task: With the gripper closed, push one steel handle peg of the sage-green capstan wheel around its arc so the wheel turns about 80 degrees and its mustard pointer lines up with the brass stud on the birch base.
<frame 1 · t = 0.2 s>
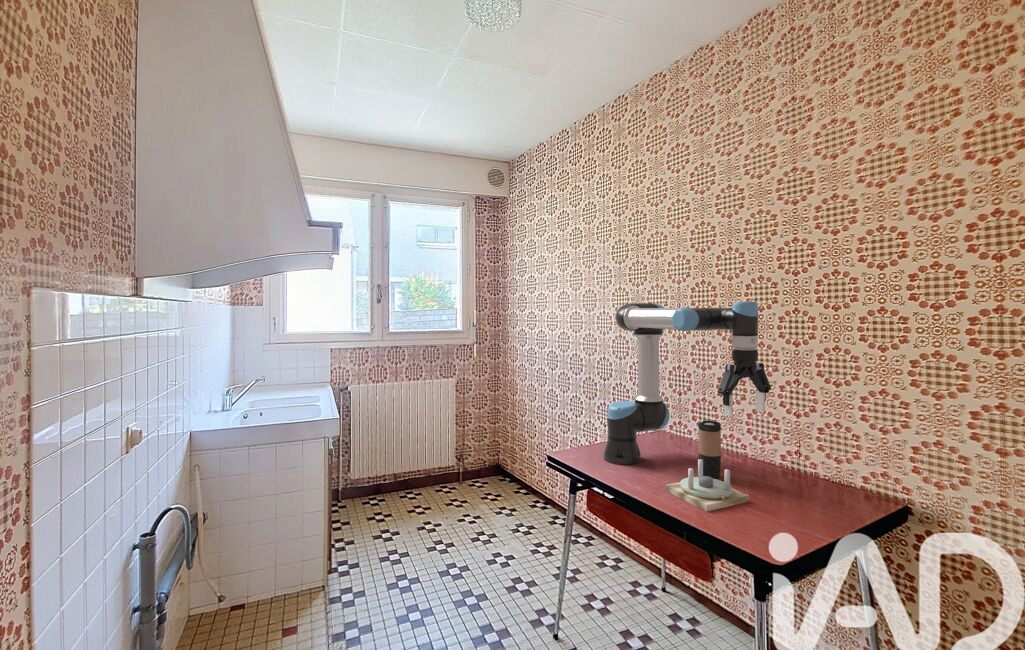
hand: (744, 413, 150), 28 cm above the table, fingers open, 13 cm apart
capstan: (706, 477, 151), point 6 cm above the table, hinge at 0.0°
stand base: (705, 495, 152), on the table
travel mug: (709, 477, 169), on the table
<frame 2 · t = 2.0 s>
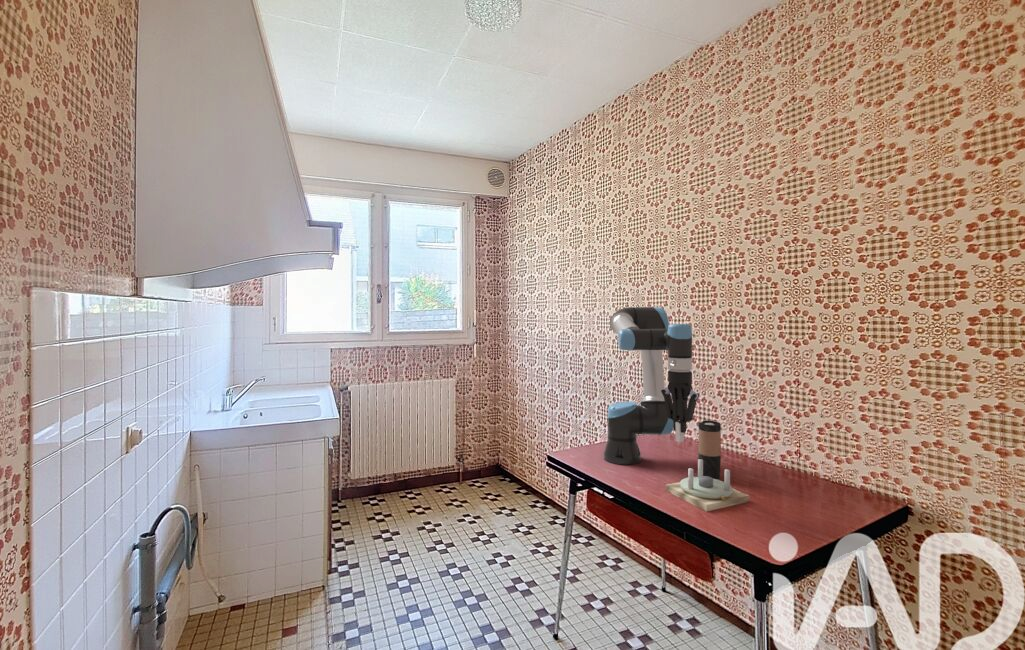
hand: (679, 441, 152), 18 cm above the table, fingers closed
nothing on the table moved.
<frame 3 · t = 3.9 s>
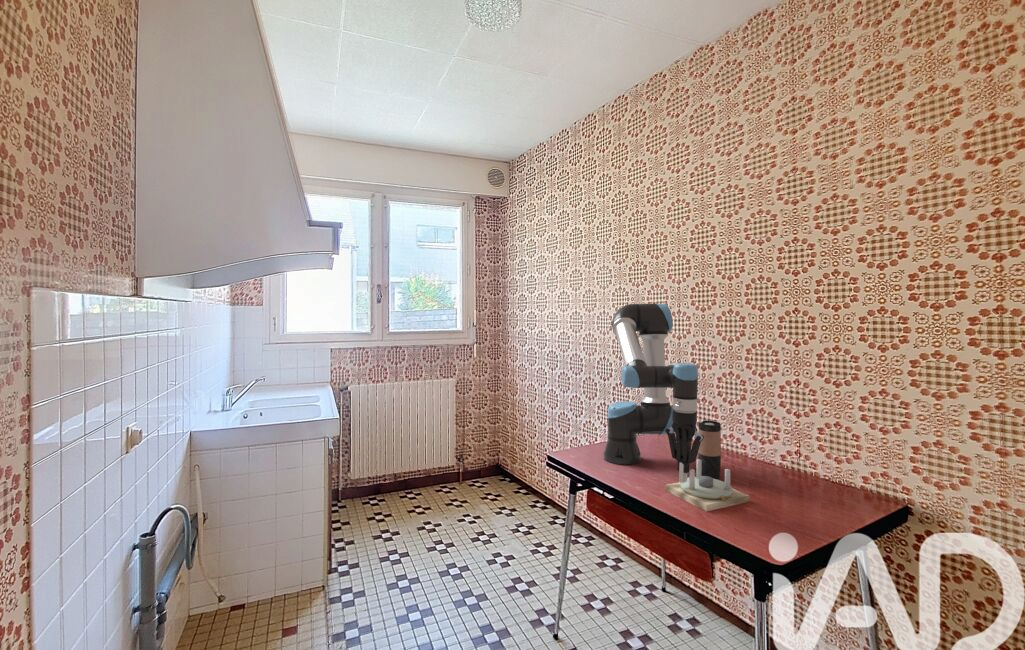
hand: (683, 481, 151), 5 cm above the table, fingers closed
capstan: (706, 477, 151), point 6 cm above the table, hinge at 4.5°, touching gripper
everything else where it was.
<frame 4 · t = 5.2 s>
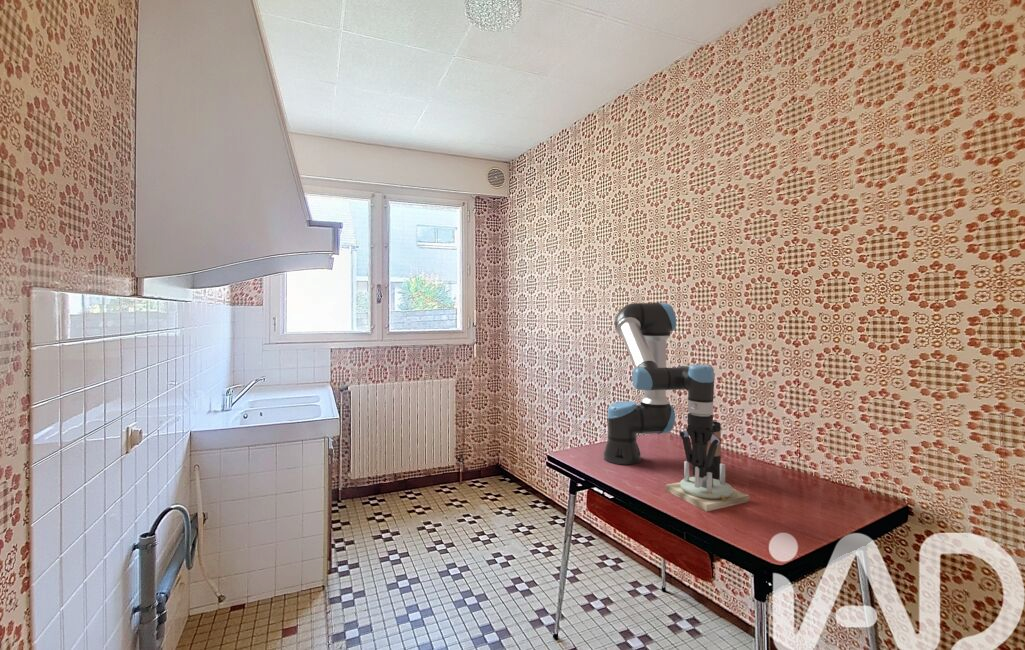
hand: (698, 486, 147), 5 cm above the table, fingers closed
capstan: (706, 477, 151), point 6 cm above the table, hinge at 52.8°, touching gripper
everything else where it was.
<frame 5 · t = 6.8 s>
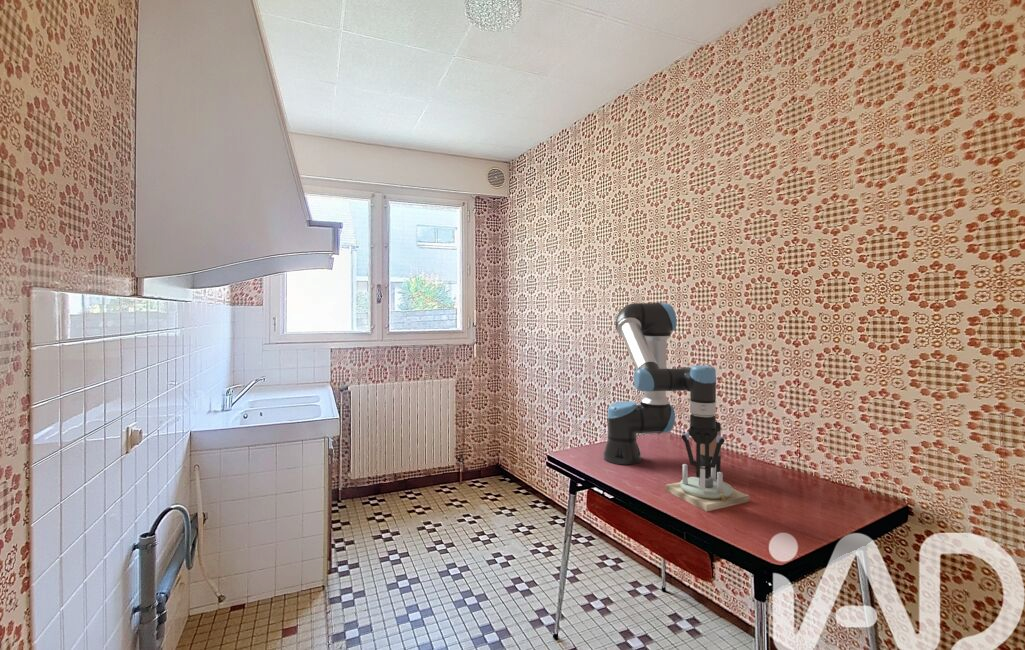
hand: (702, 487, 146), 5 cm above the table, fingers closed
capstan: (706, 477, 151), point 6 cm above the table, hinge at 83.1°
everything else where it was.
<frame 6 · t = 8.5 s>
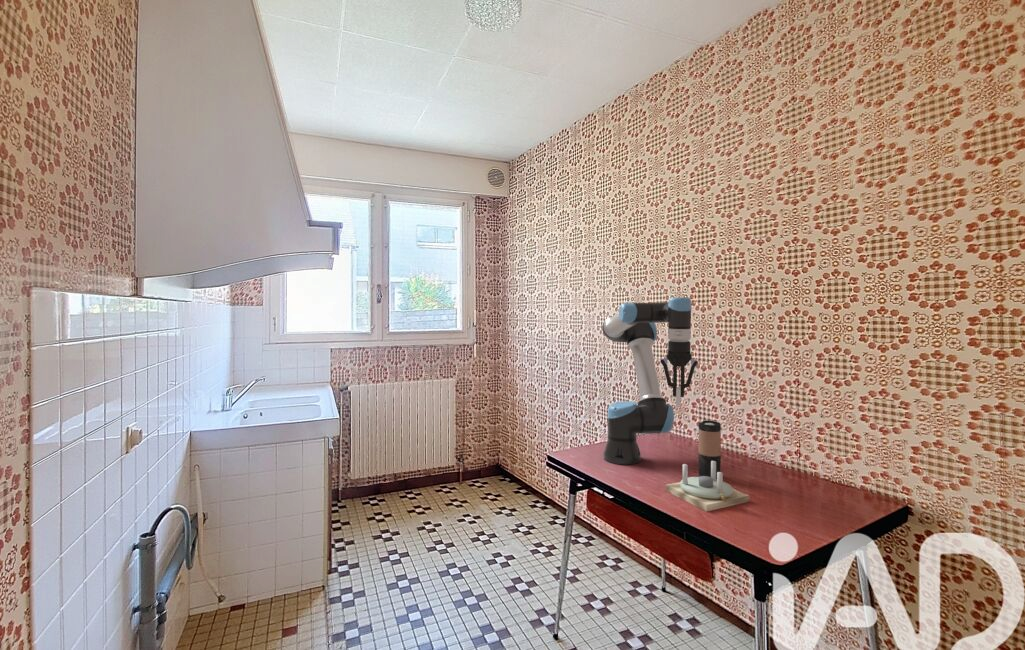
hand: (678, 405, 165), 27 cm above the table, fingers closed
nothing on the table moved.
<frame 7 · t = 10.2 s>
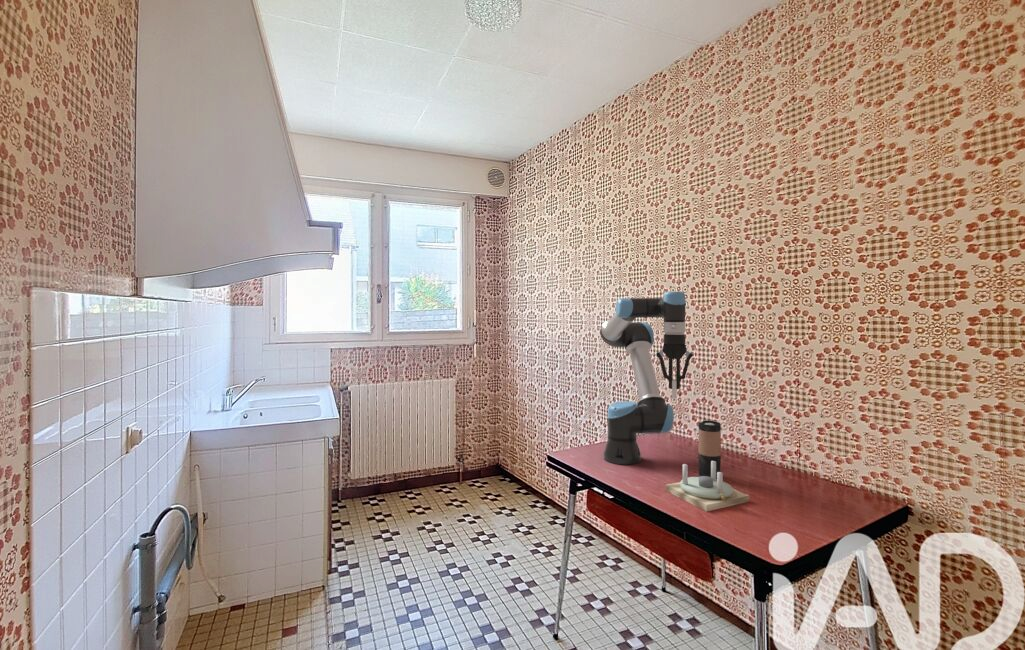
hand: (674, 397, 169), 29 cm above the table, fingers closed
nothing on the table moved.
at the end: capstan at +83° (first picture: +0°); capstan touching nothing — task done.
